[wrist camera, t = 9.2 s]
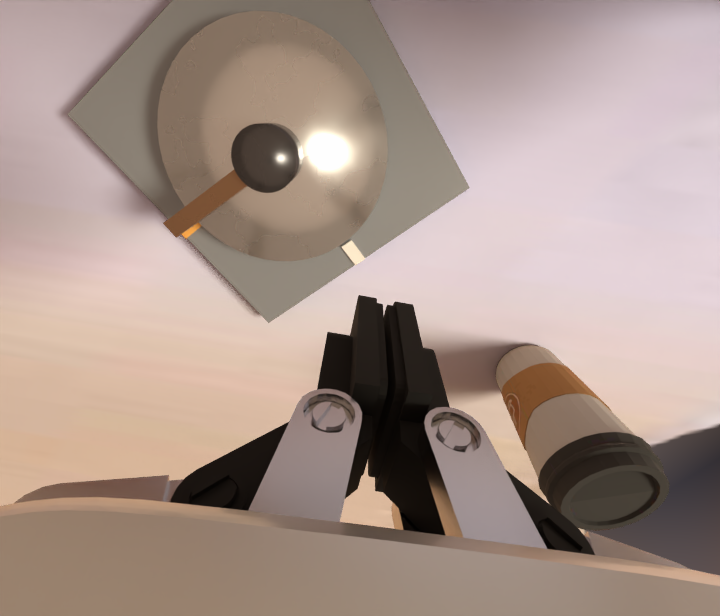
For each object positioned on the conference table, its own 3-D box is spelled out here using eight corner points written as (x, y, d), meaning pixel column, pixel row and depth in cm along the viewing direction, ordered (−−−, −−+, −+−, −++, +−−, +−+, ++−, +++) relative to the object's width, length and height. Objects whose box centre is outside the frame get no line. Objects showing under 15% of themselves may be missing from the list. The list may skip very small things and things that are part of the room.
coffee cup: (482, 343, 37) (555, 470, 23) (565, 327, 36) (690, 449, 23) (486, 402, 40) (550, 541, 27) (561, 390, 40) (665, 526, 26)
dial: (299, -50, 21) (285, -91, 17) (424, 187, 28) (437, 199, 23) (111, 119, 25) (63, 120, 21) (259, 292, 31) (245, 318, 27)
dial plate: (299, -119, 21) (295, -138, 20) (464, 184, 29) (470, 188, 28) (82, 114, 26) (65, 114, 25) (271, 315, 35) (268, 323, 33)
